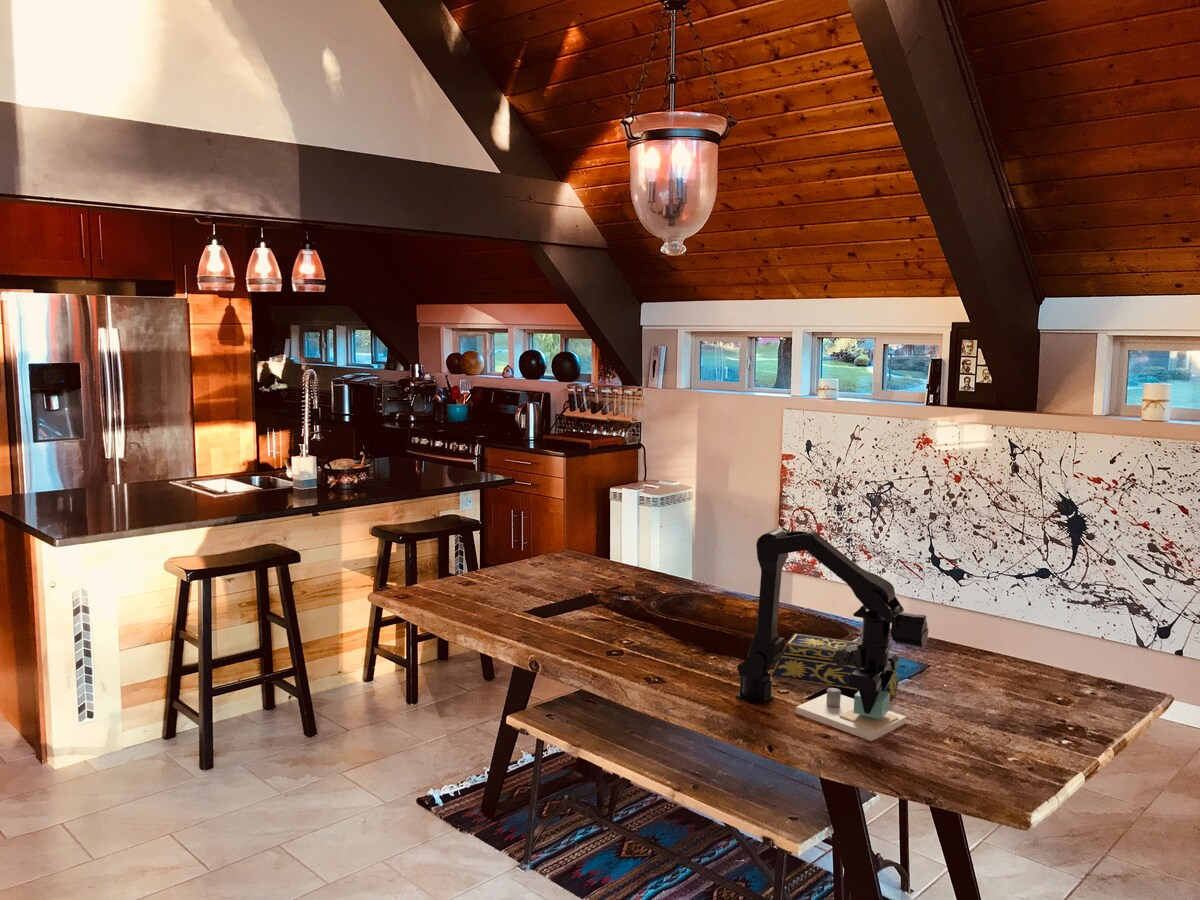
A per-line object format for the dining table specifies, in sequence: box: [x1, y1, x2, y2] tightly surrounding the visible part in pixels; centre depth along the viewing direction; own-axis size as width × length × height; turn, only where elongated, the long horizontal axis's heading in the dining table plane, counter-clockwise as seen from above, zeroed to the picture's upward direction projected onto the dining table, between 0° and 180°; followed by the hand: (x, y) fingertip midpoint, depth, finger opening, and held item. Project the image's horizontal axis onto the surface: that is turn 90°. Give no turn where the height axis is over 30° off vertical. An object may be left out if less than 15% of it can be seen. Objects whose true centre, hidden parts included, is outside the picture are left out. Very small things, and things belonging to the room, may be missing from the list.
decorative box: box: [770, 633, 900, 696], centre depth 234 cm, size 11×30×9 cm, turn 68°
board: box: [795, 687, 907, 742], centre depth 210 cm, size 19×14×5 cm
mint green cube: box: [853, 690, 891, 719], centre depth 206 cm, size 6×6×4 cm
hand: (871, 708), depth 207 cm, fingers closed on mint green cube, 6 cm apart
